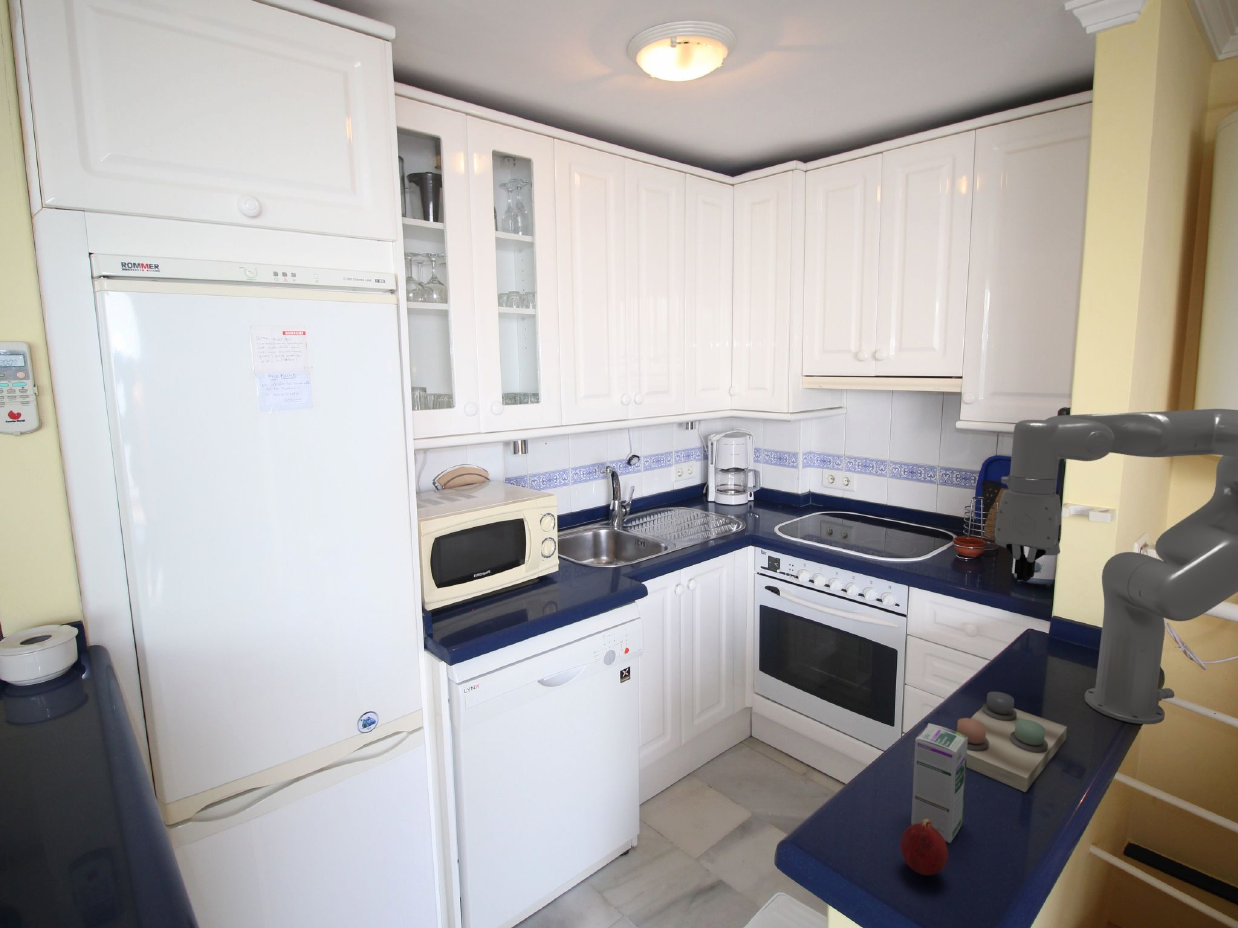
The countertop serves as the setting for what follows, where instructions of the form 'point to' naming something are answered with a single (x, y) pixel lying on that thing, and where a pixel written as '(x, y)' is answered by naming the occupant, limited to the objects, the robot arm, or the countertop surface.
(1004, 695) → the charcoal button
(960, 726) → the terracotta button
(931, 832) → the onion
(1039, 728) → the green button
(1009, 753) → the button panel
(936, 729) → the syrup box
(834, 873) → the countertop surface
